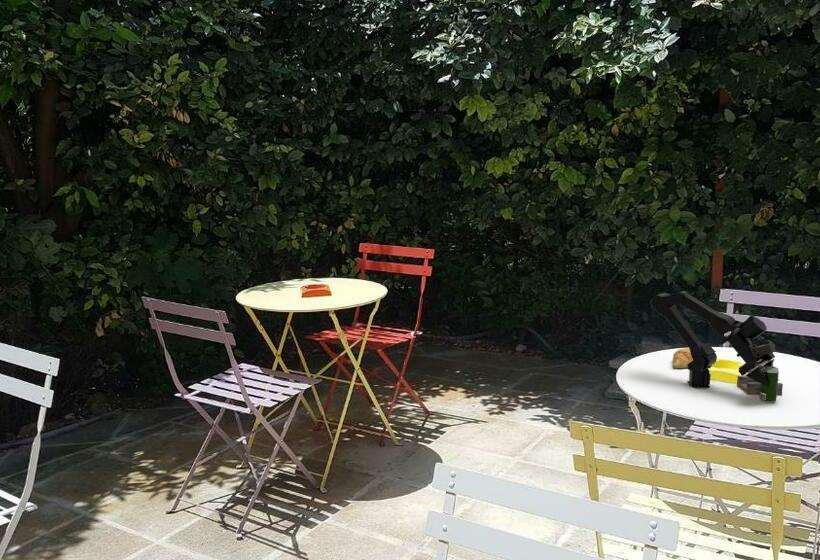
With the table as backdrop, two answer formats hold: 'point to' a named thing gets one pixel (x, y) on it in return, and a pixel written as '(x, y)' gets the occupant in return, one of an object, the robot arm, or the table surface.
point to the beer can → (770, 392)
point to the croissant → (682, 358)
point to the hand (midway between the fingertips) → (773, 383)
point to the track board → (743, 387)
